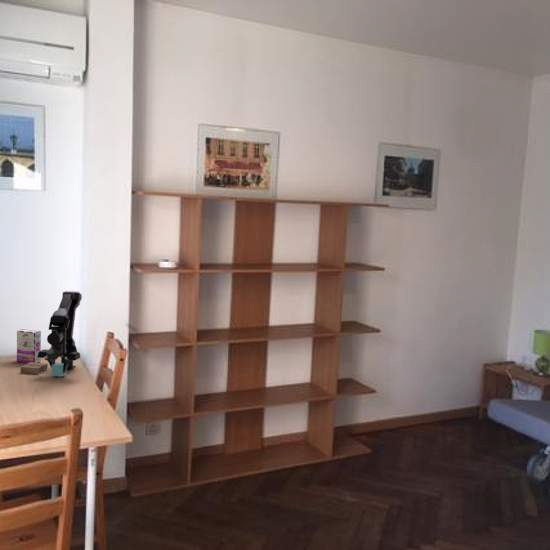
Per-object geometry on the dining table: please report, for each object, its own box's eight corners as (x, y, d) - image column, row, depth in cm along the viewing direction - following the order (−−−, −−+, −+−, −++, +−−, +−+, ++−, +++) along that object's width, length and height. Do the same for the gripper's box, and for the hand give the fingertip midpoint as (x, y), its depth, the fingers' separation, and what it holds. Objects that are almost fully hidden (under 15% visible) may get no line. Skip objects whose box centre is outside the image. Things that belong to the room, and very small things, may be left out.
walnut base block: (30, 368, 298) (30, 362, 297) (47, 369, 297) (47, 363, 296) (20, 372, 289) (20, 366, 288) (38, 374, 288) (38, 368, 287)
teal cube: (56, 372, 289) (56, 362, 288) (66, 373, 288) (66, 363, 288) (51, 375, 284) (51, 365, 283) (61, 376, 283) (61, 366, 283)
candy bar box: (41, 362, 310) (41, 330, 308) (34, 364, 305) (34, 332, 303) (22, 359, 313) (23, 328, 311) (16, 361, 308) (16, 330, 306)
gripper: (31, 342, 277) (31, 375, 279) (70, 345, 275) (70, 378, 277) (43, 337, 288) (43, 369, 290) (81, 340, 286) (80, 372, 288)
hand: (58, 372), depth 286 cm, fingers closed on teal cube, 5 cm apart
